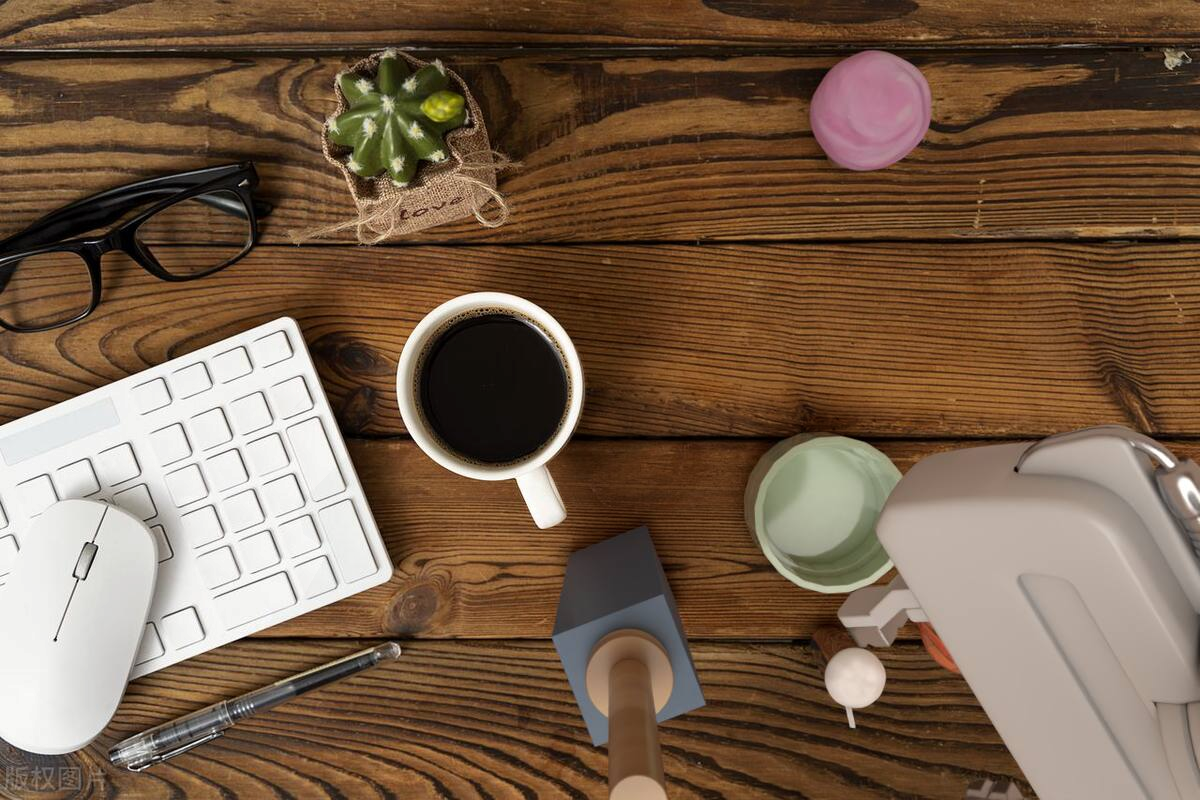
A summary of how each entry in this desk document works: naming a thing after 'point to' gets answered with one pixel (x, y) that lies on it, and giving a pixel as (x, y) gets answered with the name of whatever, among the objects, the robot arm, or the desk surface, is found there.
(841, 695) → the milkshake
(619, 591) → the stand
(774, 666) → the desk surface
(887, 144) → the cupcake
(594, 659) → the wooden pestle
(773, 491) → the bowl
